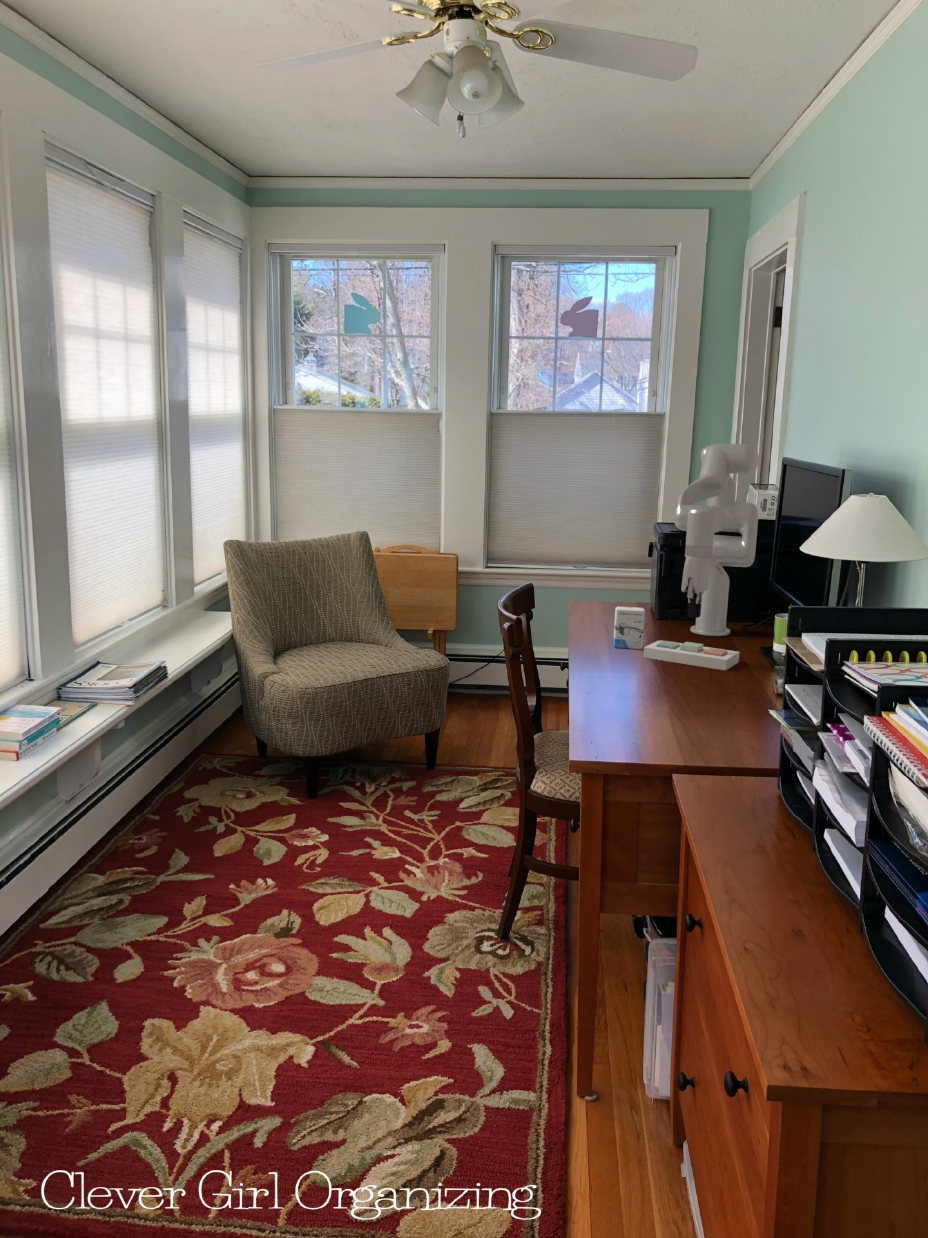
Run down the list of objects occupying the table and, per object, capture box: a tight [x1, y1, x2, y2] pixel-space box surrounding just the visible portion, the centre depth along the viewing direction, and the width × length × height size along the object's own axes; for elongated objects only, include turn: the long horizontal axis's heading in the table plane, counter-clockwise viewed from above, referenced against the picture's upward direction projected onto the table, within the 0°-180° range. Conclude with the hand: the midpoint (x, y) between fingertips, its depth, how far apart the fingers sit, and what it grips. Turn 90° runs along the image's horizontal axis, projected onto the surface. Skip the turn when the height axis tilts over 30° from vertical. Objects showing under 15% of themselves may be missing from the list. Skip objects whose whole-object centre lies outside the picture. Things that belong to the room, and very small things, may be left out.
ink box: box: [612, 606, 646, 650], centre depth 290 cm, size 9×5×12 cm, turn 84°
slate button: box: [657, 640, 680, 649], centre depth 280 cm, size 5×5×3 cm
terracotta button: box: [704, 647, 727, 657], centre depth 273 cm, size 5×5×3 cm
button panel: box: [642, 639, 741, 671], centre depth 276 cm, size 12×24×3 cm, turn 58°
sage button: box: [680, 641, 704, 653], centre depth 276 cm, size 5×5×3 cm
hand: (693, 616), depth 274 cm, fingers closed
